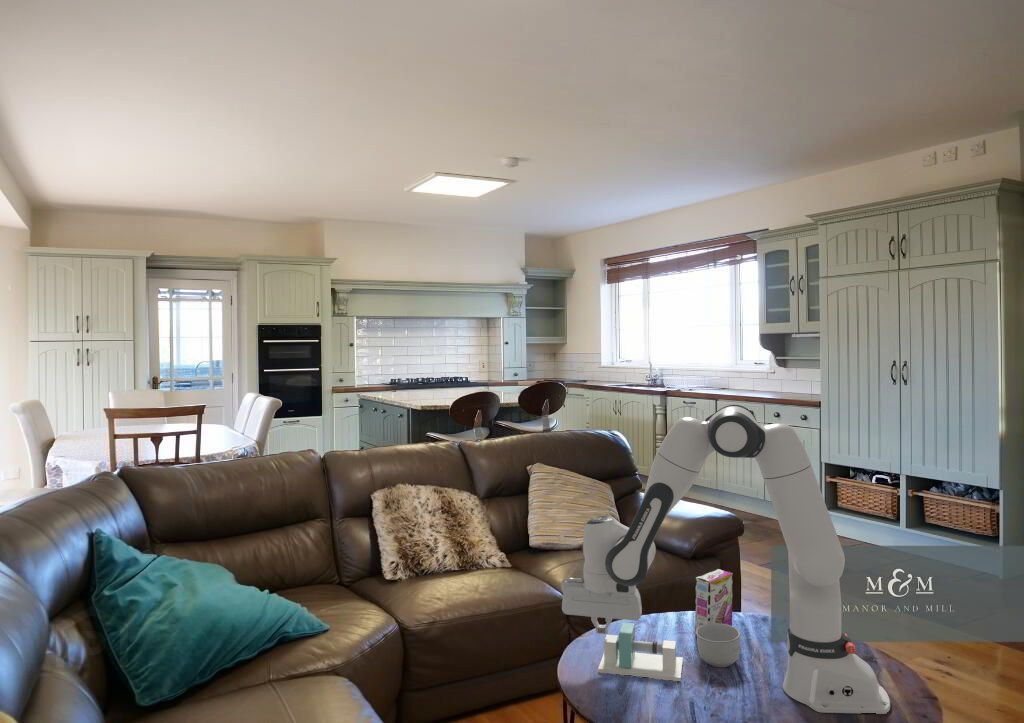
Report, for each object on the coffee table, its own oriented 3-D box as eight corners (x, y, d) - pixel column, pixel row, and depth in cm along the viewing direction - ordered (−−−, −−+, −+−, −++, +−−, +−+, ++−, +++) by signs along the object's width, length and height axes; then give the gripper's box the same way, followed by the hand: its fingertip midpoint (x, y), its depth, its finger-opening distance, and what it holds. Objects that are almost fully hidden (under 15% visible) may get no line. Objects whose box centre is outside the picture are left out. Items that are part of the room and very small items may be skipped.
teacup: (742, 673, 178) (742, 641, 178) (697, 670, 180) (697, 638, 180) (736, 648, 192) (736, 618, 191) (694, 645, 194) (694, 616, 194)
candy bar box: (710, 641, 196) (709, 582, 195) (694, 635, 200) (694, 577, 199) (733, 629, 203) (733, 572, 203) (718, 624, 207) (718, 567, 206)
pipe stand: (683, 661, 185) (682, 635, 185) (680, 681, 175) (680, 654, 174) (605, 652, 191) (604, 628, 190) (598, 672, 180) (597, 646, 180)
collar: (635, 653, 187) (634, 623, 187) (631, 668, 179) (630, 636, 179) (623, 652, 188) (622, 622, 188) (619, 666, 180) (618, 635, 180)
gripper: (558, 581, 184) (559, 634, 185) (639, 587, 179) (640, 642, 179) (563, 572, 190) (564, 624, 191) (642, 578, 185) (643, 631, 185)
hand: (601, 633), depth 185 cm, fingers closed
